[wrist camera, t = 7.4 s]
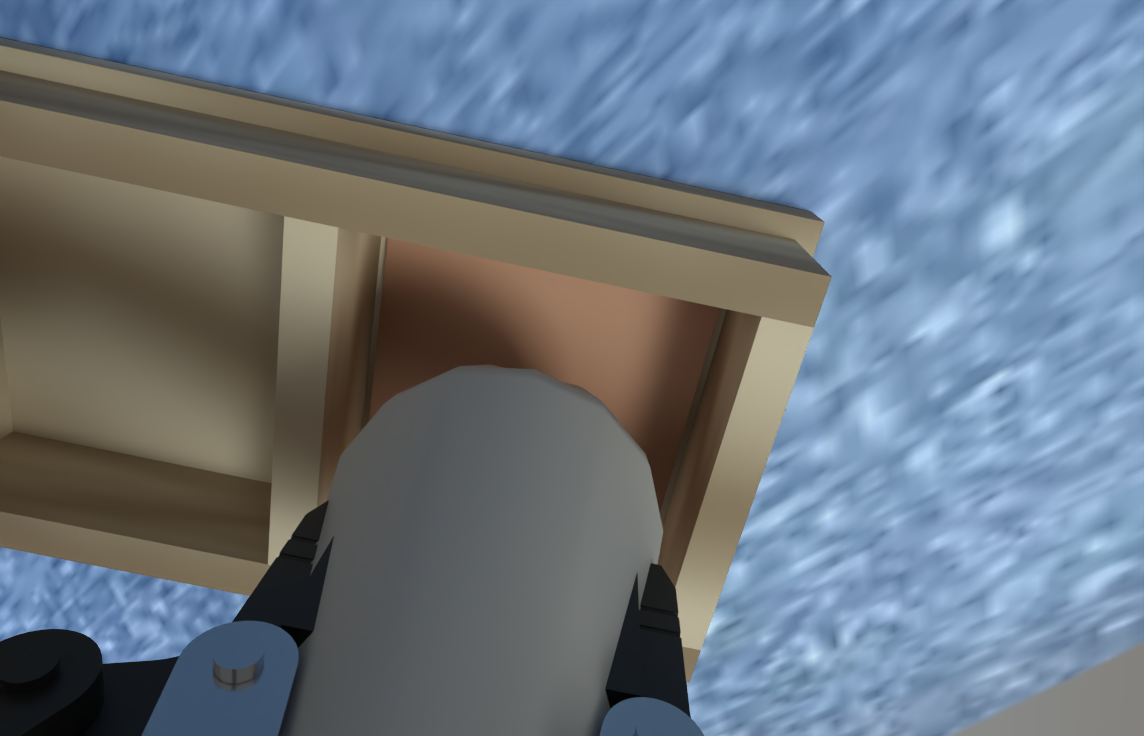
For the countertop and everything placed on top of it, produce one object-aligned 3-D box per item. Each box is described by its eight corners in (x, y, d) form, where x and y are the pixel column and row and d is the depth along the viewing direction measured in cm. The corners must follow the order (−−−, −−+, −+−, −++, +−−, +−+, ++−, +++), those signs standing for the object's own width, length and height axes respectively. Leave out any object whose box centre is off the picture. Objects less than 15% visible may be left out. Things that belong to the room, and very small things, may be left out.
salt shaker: (386, 563, 17) (-213, 1878, 5) (362, 321, 14) (-919, 1631, 2) (649, 575, 16) (740, 2007, 4) (665, 329, 14) (940, 1859, 2)
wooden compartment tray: (-55, 26, 17) (-258, 15, 13) (811, 211, 17) (868, 256, 13) (-4, 447, 21) (-145, 535, 17) (688, 585, 21) (704, 701, 18)
